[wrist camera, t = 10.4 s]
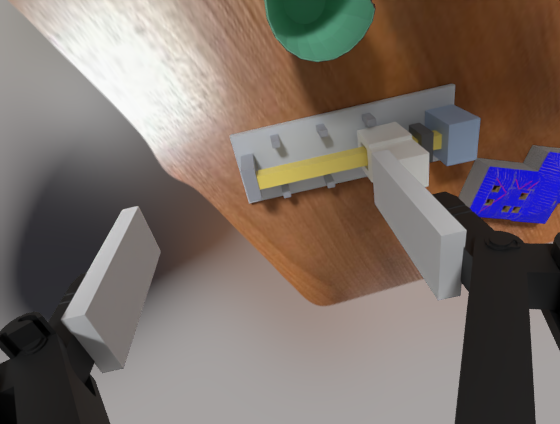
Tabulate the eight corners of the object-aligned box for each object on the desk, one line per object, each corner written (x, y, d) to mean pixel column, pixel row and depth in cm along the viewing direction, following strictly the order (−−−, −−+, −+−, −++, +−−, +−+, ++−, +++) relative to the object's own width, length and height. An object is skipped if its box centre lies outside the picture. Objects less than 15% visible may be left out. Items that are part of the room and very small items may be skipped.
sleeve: (360, 165, 47) (384, 200, 39) (356, 130, 45) (382, 159, 37) (396, 157, 47) (428, 190, 39) (395, 121, 45) (429, 148, 37)
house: (536, 212, 57) (562, 230, 53) (452, 205, 55) (472, 223, 50) (575, 147, 52) (607, 162, 47) (483, 136, 49) (508, 150, 45)
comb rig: (249, 200, 51) (250, 227, 45) (229, 134, 45) (228, 155, 40) (448, 155, 50) (476, 176, 44) (452, 83, 45) (484, 96, 39)
